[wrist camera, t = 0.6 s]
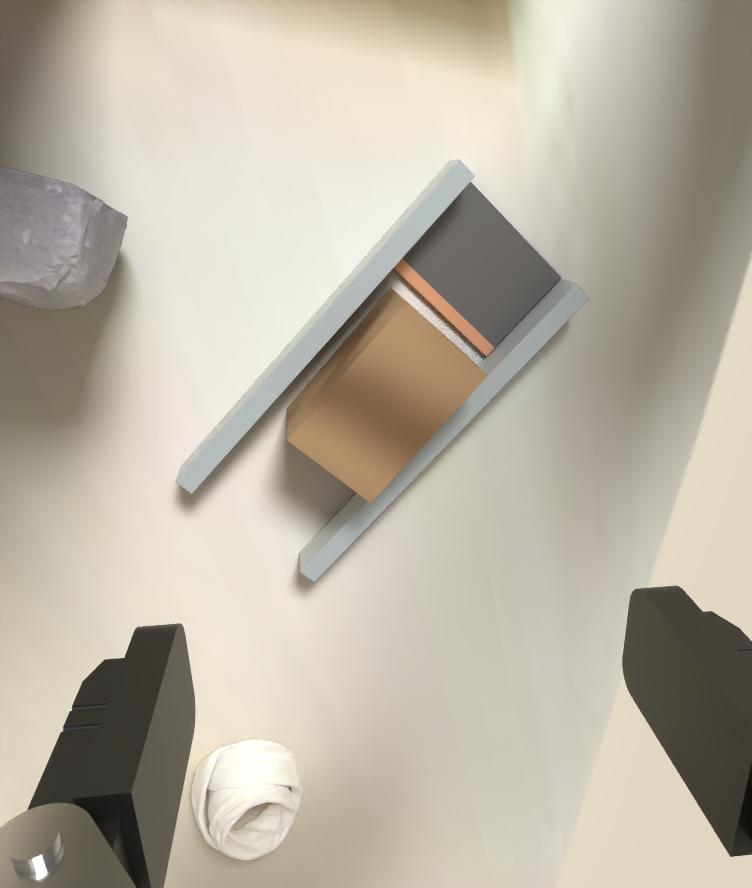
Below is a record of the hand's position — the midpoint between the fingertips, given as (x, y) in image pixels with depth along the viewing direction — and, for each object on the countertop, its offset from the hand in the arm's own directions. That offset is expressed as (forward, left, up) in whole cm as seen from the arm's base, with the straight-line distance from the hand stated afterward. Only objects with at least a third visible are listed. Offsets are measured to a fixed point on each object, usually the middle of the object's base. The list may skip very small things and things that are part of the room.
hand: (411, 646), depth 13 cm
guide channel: (0, +3, -24) cm, 24 cm away
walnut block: (0, +3, -24) cm, 24 cm away
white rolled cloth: (+24, +14, -25) cm, 37 cm away
